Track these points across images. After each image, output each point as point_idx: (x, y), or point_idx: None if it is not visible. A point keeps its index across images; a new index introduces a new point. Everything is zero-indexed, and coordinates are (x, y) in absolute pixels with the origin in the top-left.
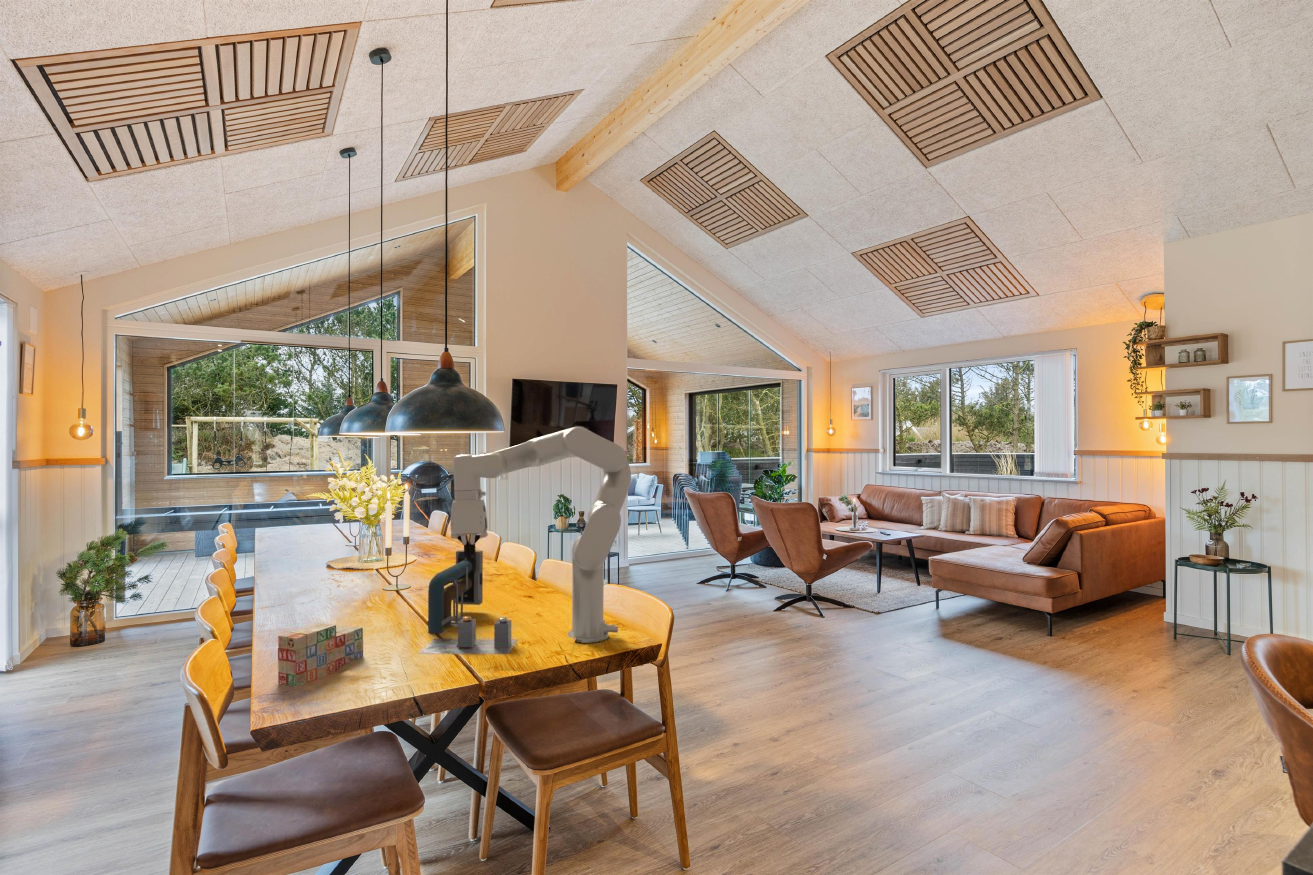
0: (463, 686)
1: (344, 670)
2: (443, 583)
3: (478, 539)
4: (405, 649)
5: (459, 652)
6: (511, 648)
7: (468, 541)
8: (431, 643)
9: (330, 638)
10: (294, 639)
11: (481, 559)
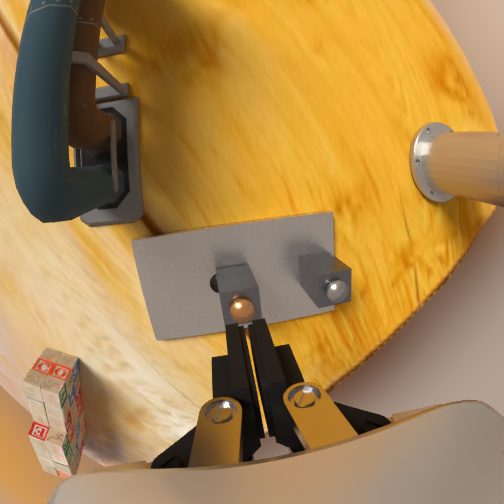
0: None
1: (89, 394)
2: (68, 185)
3: (355, 416)
4: (101, 293)
5: None
6: None
7: (250, 425)
8: (144, 277)
9: (68, 439)
10: None
11: None
